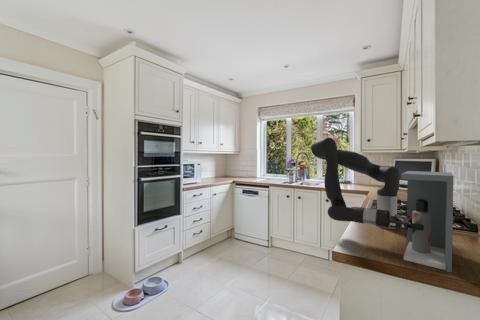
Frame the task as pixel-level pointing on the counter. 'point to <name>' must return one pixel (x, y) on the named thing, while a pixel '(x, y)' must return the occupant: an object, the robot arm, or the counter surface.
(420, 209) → the lotion bottle
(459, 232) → the counter surface
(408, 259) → the shelf mat
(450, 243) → the open shelf
